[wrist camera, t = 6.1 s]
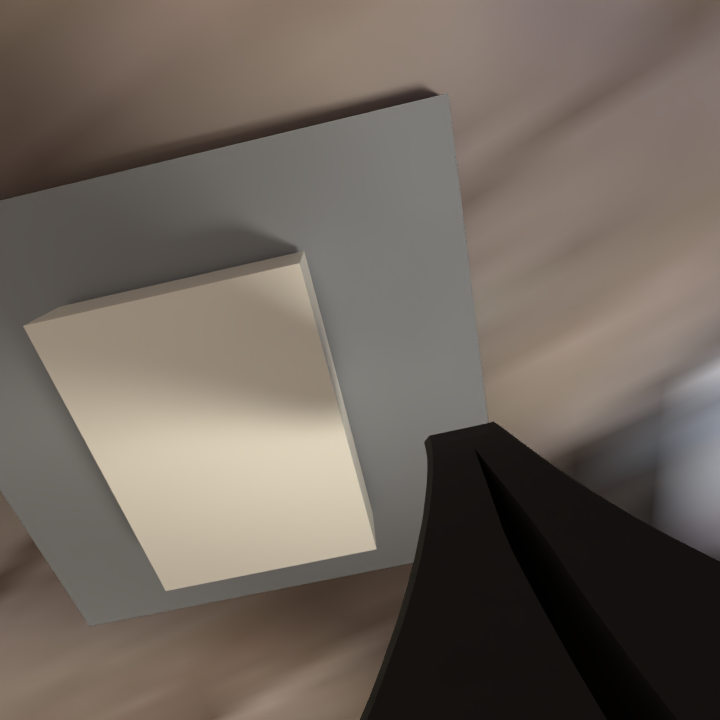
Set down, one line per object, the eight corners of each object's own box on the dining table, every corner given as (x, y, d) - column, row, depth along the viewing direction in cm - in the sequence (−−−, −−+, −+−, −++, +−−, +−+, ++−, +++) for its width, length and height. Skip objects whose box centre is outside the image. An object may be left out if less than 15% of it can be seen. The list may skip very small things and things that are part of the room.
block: (376, 549, 13) (165, 591, 13) (372, 508, 14) (183, 547, 14) (299, 262, 10) (22, 325, 10) (304, 249, 11) (63, 304, 11)
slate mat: (498, 533, 15) (502, 545, 15) (96, 613, 16) (89, 626, 16) (443, 96, 10) (448, 93, 10) (-144, 236, 11) (-166, 240, 10)
